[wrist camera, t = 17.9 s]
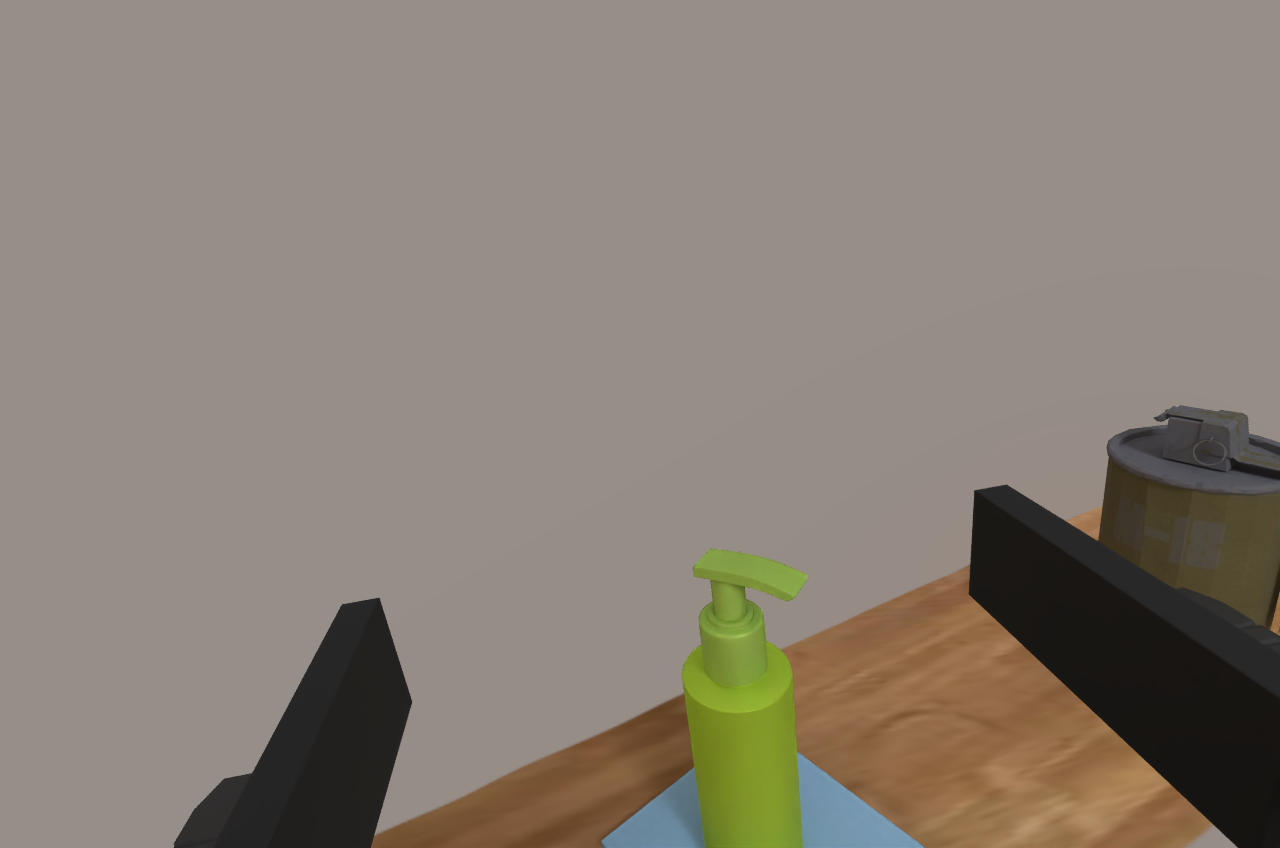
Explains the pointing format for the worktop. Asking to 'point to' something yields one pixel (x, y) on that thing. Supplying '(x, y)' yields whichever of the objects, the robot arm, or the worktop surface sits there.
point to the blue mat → (830, 814)
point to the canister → (1198, 507)
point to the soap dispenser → (743, 709)
